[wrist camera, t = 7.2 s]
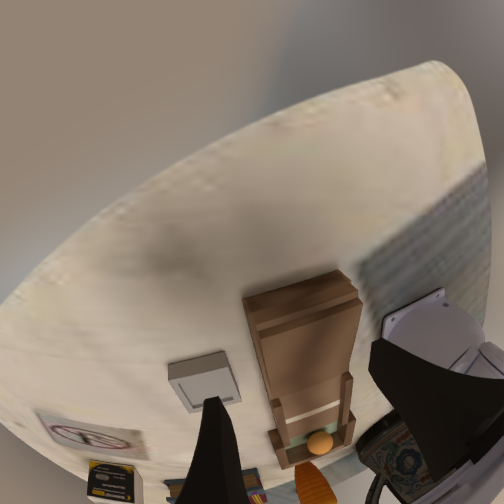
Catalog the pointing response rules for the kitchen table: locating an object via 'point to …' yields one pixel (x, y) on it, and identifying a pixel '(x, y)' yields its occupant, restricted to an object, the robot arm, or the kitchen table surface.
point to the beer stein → (395, 461)
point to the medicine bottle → (114, 484)
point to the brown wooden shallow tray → (307, 361)
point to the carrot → (312, 485)
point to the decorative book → (250, 481)
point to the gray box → (203, 381)
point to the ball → (320, 442)
